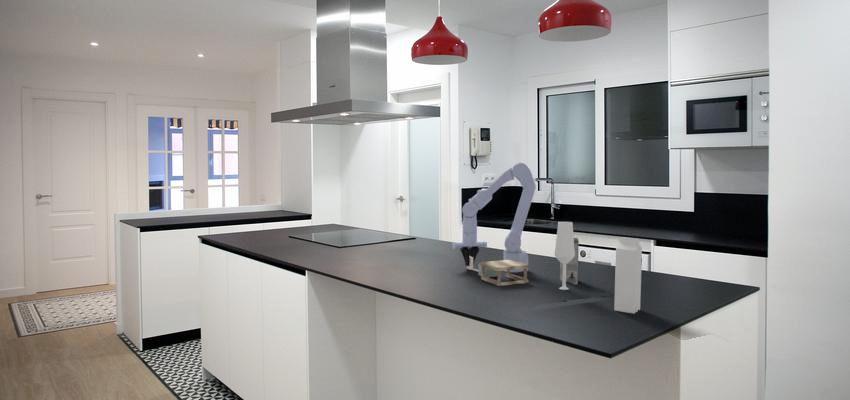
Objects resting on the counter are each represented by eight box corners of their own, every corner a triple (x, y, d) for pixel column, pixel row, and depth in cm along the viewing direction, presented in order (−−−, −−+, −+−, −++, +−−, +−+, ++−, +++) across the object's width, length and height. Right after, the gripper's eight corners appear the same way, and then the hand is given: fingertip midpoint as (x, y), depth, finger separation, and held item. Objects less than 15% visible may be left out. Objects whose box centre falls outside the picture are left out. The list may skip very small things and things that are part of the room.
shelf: (497, 275, 223) (498, 256, 223) (528, 285, 205) (528, 264, 205) (469, 278, 218) (469, 258, 217) (497, 289, 200) (497, 267, 199)
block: (474, 267, 233) (474, 255, 232) (498, 276, 216) (498, 263, 216) (461, 269, 230) (461, 256, 230) (485, 277, 214) (485, 264, 213)
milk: (620, 306, 177) (622, 236, 175) (640, 309, 173) (642, 237, 172) (613, 310, 172) (615, 238, 170) (634, 313, 168) (636, 239, 167)
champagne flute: (552, 293, 194) (554, 223, 192) (555, 289, 200) (556, 221, 199) (573, 294, 192) (574, 223, 190) (574, 290, 198) (576, 221, 196)
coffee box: (559, 279, 217) (560, 237, 216) (576, 279, 216) (577, 237, 215) (560, 284, 208) (561, 240, 207) (578, 285, 207) (579, 241, 206)
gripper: (457, 234, 223) (456, 268, 224) (490, 232, 228) (490, 266, 229) (450, 231, 230) (449, 265, 231) (482, 230, 235) (482, 263, 235)
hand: (469, 265), depth 230 cm, fingers closed on block
